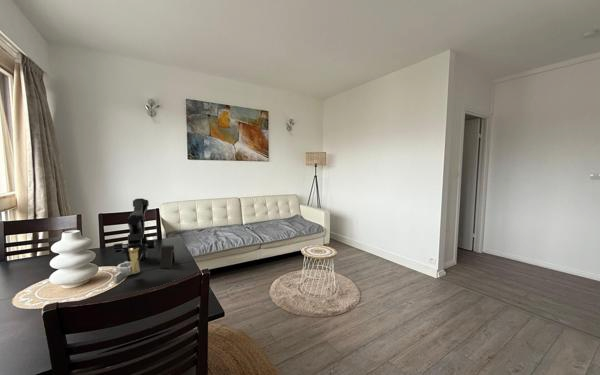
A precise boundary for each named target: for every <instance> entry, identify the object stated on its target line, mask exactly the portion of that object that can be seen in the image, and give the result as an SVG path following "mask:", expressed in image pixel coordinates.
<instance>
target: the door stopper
mask: <svg viewBox="0 0 600 375" xmlns="http://www.w3.org/2000/svg"><path fill="white" fill-rule="evenodd" d="M160 251H161V252H160V253H161V254H160V261H159V262H160V263H159V264H160V265H159V269H172V267H173V266H174V265H175V264H176V263H177V258H176V254H175V247H174V244H172V245H162V246H161V249H160Z"/></svg>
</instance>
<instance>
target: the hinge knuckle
mask: <svg viewBox="0 0 600 375" xmlns="http://www.w3.org/2000/svg"><path fill="white" fill-rule="evenodd" d="M115 269H116V274H115V275H113V282H115V283H117V282H118V281H120V280H121V279H122V278H123V277H128V276H130V275H132V274H131V272H130V262H129V261H128V260H127V261H126V260H125V261H124V262H121V263H119V264H118V265H117V266H116V268H115Z"/></svg>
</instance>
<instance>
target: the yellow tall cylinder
mask: <svg viewBox="0 0 600 375" xmlns="http://www.w3.org/2000/svg"><path fill="white" fill-rule="evenodd" d="M128 251H129V254H130V272H131V275H134V274H138V273H139V272H140V261H139V247H131V248H129V249H128Z"/></svg>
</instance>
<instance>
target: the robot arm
mask: <svg viewBox="0 0 600 375" xmlns="http://www.w3.org/2000/svg"><path fill="white" fill-rule="evenodd" d="M149 204H150V203H149V200H148V199H145V198H134V200H132V207H133V212H130V214H129V217H128V218H127V220H126V222H127V226H128V229H129V234H128V235H127V244H124V243H123V242H121V243H120V242H119V243H114V244H113V245H112V251H113V253H114V254H119V253H122V254H125V255H126V257H127V262H130V254H129V251H128V249H129V248H131V247H139V262H140V261H144V260H147V259H148V257H149V254H147V253H148V252H147V251H148V250H151V249H156V240H155V239H148V237H147V235H146V234H145V222H146V220H147V219H146V212H147V211H148V207H149Z"/></svg>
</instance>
